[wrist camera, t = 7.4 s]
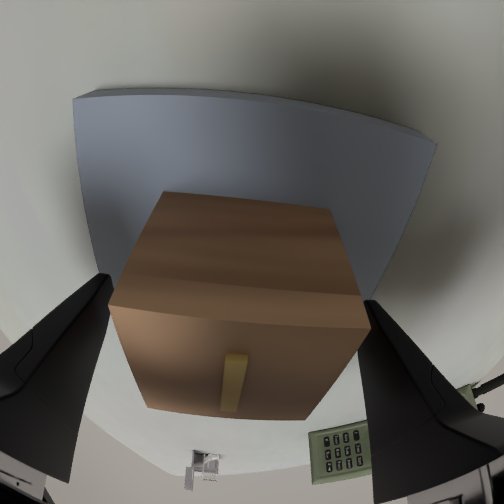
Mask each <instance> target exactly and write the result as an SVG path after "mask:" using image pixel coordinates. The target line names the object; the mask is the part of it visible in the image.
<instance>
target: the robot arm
mask: <svg viewBox="0 0 504 504" xmlns="http://www.w3.org/2000/svg"><path fill="white" fill-rule="evenodd" d="M113 291H114V287H113V283H112V279H111V276H110V275H109V274H105V273H98V274H97V275H96V276H94V277H93V278H92V279H90V280H89V281H88V282H87V283H85V284H84V285H83V286H82V287H80V288H79V289H78V290H77V291H75V292H74V293H73V294H72V295H70V296H69V297H68V298H67V299H66V300H64V301H63V302H62V303H61V304H60V305H58V306H57V307H56V308H55V309H54V310H52V311H51V312H50V313H49V314H48V315H46V316H45V317H44V318H43V319H42V320H41V321H39V322H38V323H37V324H36V325H35V326H34V327H33V328H32V329H30V330H29V331H28V332H27V333H26V334H25V335H23V336H22V337H21V338H20V339H19V340H18V341H16V342H15V343H14V344H13V345H11V346H10V347H9V348H8V349H6V350H5V351H4V352H2V353H1V354H0V504H55V503H54V502H53V500H52V499H51V497H50V495H49V493H48V492H47V490H46V489H45V487H44V486H45V481H46V476H47V475H49V476H51V477H53V478H56V479H58V480H60V481H63V482H66V483H69V479H70V473H71V467H72V462H73V456H74V451H75V446H76V441H77V437H78V434H77V433H78V431H79V427H80V423H81V418H82V414H83V410H84V406H85V402H86V398H87V395H88V391H89V387H90V384H91V380H92V377H93V373H94V370H95V366H96V363H97V360H98V357H99V353H100V350H101V347H102V344H103V341H104V338H105V334H106V330H107V326H108V322H109V317H110V310H109V307H108V303H109V301H110V298H111V296H112V294H113ZM363 303H364V306H365V309H366V313H367V316H368V319H369V322H370V326H371V330H370V331H369V333H368V335H367V336H366V338H365V339H364V341H363V342H362V344H361V345H360V347H359V348H358V350H357V351H358V360H359V367H360V373H361V379H362V386H363V393H364V400H365V408H366V416H367V424H368V433H369V443H370V453H371V466H372V480H373V498H374V504H380V503H384V502H388V501H392V500H396V499H399V498H403V497H406V496H407V500H408V504H504V418H501V417H497V416H493V415H488V414H484V413H482V412H480V411H478V410H477V409H476V408H474V407H473V406H472V405H471V404H470V403H469V402H468V401H467V400H466V399H465V398H464V397H463V396H462V395H461V394H460V393H459V392H458V391H457V390H456V389H455V388H454V387H453V386H452V385H451V384H450V382H449V381H448V380H447V379H446V378H445V377H444V376H443V375H442V374H441V373H440V371H439V370H438V369H437V368H436V367H435V366H434V365H432V362H431V361H430V360H429V359H428V358H427V357H426V355H425V354H424V353H423V352H422V351H421V350H420V349H419V347H418V346H417V345H416V344H415V343H414V342H413V341H412V340H411V338H410V337H409V336H408V335H407V334H406V333H405V332H404V331H403V330H402V328H401V327H400V326H399V325H398V324H397V323H396V322H395V321H394V320H393V319H392V318H391V316H390V315H389V314H388V313H387V312H386V311H385V310H384V309H383V308H382V307H381V306H380V305H379V304H378V303H377V302H376V301H375V300H364V301H363Z"/></svg>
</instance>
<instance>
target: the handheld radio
mask: <svg viewBox="0 0 504 504" xmlns="http://www.w3.org/2000/svg"><path fill="white" fill-rule="evenodd" d="M475 383H476V382H475ZM475 383H472V384H468V385H466V386H464V387H462V388H459V389H457V391H458V392H459V393H460V394H461V395H462V396H463V397H464V398H465V399H466V400H467V401H468V402H469V403H470V404H471V405H472V406H473V407H474V408H476V409H477V410H478V411H480V412H483V411H484V409H485V406H484V404H483V403H480V404H477V405H476V402H475V398H477V397H478V396H479V395H481V394H485V393H487V392H489V391H491V390H493V389H495V388H497V387H499V386H501V385H503V384H504V374H502V375H500V376H498V377H496V378H494V379H492V380H490V381H488V382H486V383H484V384H482V385H481V386H480V387H478V388H473V389H471V387H473V386H474V385H475ZM308 436H309V448H310V461H311V474H312V485H316V484H323V483H329V482H335V481H341V480H347V479H352V478H356V477H361V476H366V475H370V474H372V466H371V453H370V443H369V433H368V424H367V420H365V421H361V422H357V423H353V424H348V425H344V426H340V427H335V428H330V429H325V430H320V431H315V432H309V433H308Z"/></svg>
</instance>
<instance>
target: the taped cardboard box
mask: <svg viewBox="0 0 504 504" xmlns="http://www.w3.org/2000/svg"><path fill="white" fill-rule="evenodd" d="M108 307H109V310H110V313H111V316H112V319H113V322H114V325H115V328H116V331H117V334H118V337H119V340H120V342H121V345H122V348H123V350H124V353H125V356H126V358H127V361H128V363H129V366H130V368H131V371H132V373H133V376H134V378H135V381H136V383H137V385H138V388H139V390H140V392H141V394H142V397H143V399H144V401H145V403H146V405H147V408H153V409H158V410H164V411H171V412H177V413H185V414H192V415H201V416H210V417H221V418H234V419H251V420H306V418H307V417H308V416H309V415H310V414H311V412H312V411H313V410H314V409H315V407H316V406H317V405H318V404H319V402H320V401H321V400H322V398H323V397H324V396H325V394H326V393H327V392H328V391H329V389H330V388H331V387H332V385H333V384H334V382H335V381H336V380H337V378H338V377H339V376H340V374H341V373H342V371H343V370H344V369H345V367H346V366H347V364H348V363H349V361H350V360H351V359H352V357H353V356H354V354H355V353H356V351H357V350H358V348H359V347H360V345H361V344H362V342H363V341H364V339H365V338H366V336H367V335H368V333H369V331H370V330H371V326H370V322H369V319H368V316H367V313H366V309H365V306H364V303H363V300H362V297H361V294H360V291H359V288H358V285H357V282H356V279H355V276H354V273H353V270H352V267H351V265H350V262H349V259H348V256H347V253H346V251H345V248H344V245H343V242H342V240H341V237H340V234H339V232H338V229H337V227H336V224H335V221H334V219H333V216H332V214H331V211H330V209H323V208H316V207H309V206H301V205H294V204H286V203H278V202H270V201H261V200H253V199H243V198H234V197H224V196H214V195H203V194H192V193H180V192H168V191H163V193H162V194H161V196H160V198H159V200H158V202H157V203H156V205H155V207H154V209H153V211H152V213H151V215H150V217H149V218H148V220H147V222H146V224H145V226H144V228H143V230H142V232H141V234H140V236H139V238H138V240H137V242H136V244H135V246H134V248H133V250H132V252H131V254H130V256H129V259H128V261H127V263H126V265H125V267H124V269H123V271H122V274H121V276H120V278H119V280H118V282H117V285H116V287H115V289H114V291H113V294H112V296H111V298H110V301H109V303H108Z"/></svg>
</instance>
